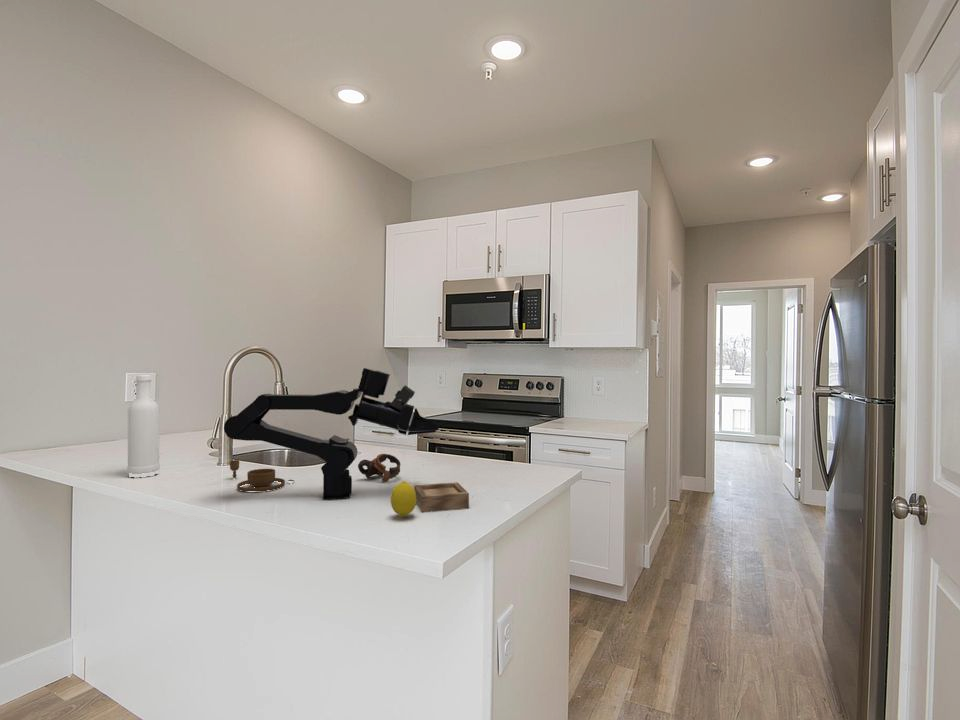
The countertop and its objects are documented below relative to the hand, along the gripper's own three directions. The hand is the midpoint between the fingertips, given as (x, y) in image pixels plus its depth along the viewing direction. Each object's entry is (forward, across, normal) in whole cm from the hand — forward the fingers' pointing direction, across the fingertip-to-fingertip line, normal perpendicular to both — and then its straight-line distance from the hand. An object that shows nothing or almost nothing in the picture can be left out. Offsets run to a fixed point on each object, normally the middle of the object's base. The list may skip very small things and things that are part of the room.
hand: (437, 429), depth 130 cm
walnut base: (+5, -6, +17) cm, 19 cm away
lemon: (-2, -15, +22) cm, 26 cm away
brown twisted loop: (-11, +21, +17) cm, 29 cm away
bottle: (-79, +37, +34) cm, 93 cm away
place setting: (-42, +21, +27) cm, 54 cm away
